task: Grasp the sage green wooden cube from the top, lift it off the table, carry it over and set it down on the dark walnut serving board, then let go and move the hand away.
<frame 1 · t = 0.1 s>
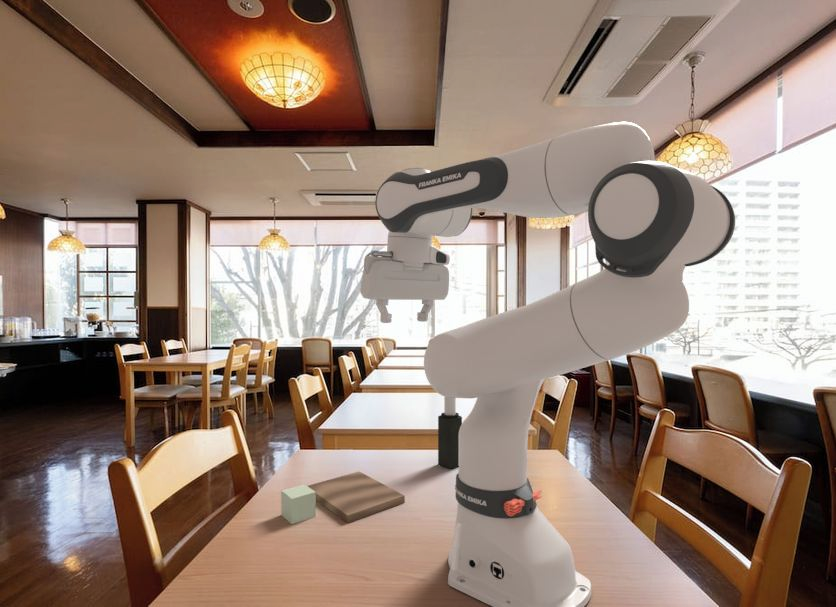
hand: (404, 321, 92), 39 cm above the table, tool pointing down, fingers open, 8 cm apart
serving board: (354, 497, 99), on the table
cube: (298, 516, 91), on the table
black and grey rod: (450, 465, 119), on the table
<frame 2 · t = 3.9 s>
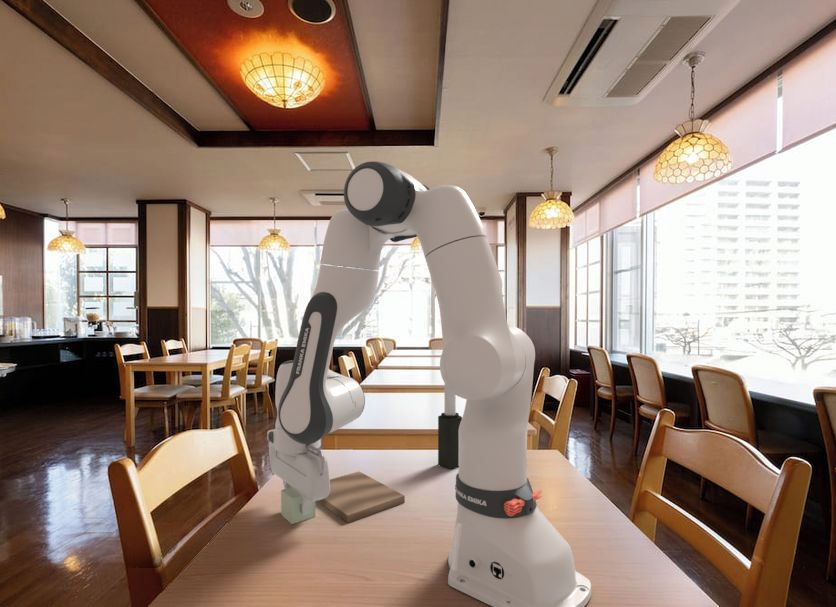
hand: (298, 507, 91), 2 cm above the table, tool pointing down, fingers closed on cube, 5 cm apart
cube: (298, 515, 91), on the table, touching gripper
everything else where it was.
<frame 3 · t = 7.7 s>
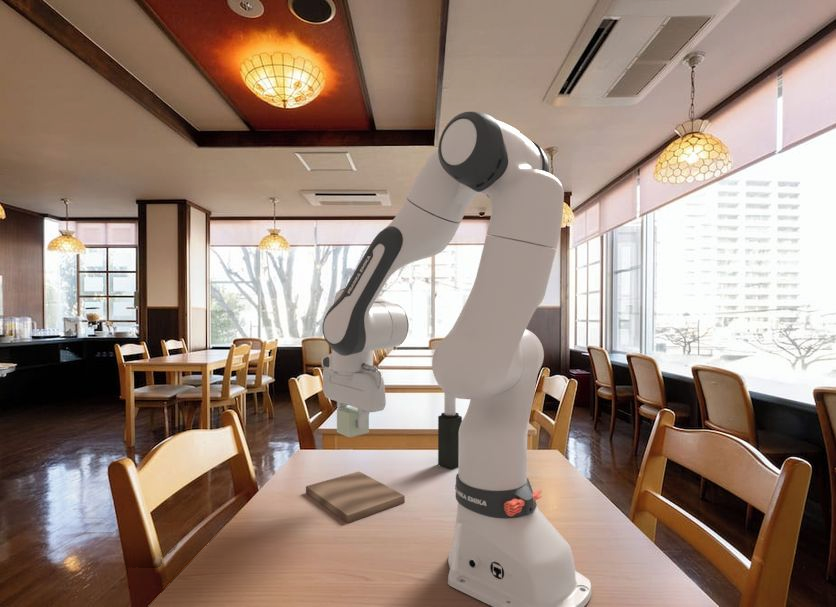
hand: (352, 425, 99), 16 cm above the table, tool pointing down, fingers closed on cube, 5 cm apart
cube: (352, 432, 99), point 14 cm above the table, touching gripper
everything else where it was.
when the fingers open (5 cm above the table, at t = 11.1 s): cube drops 1 cm, resting on serving board.
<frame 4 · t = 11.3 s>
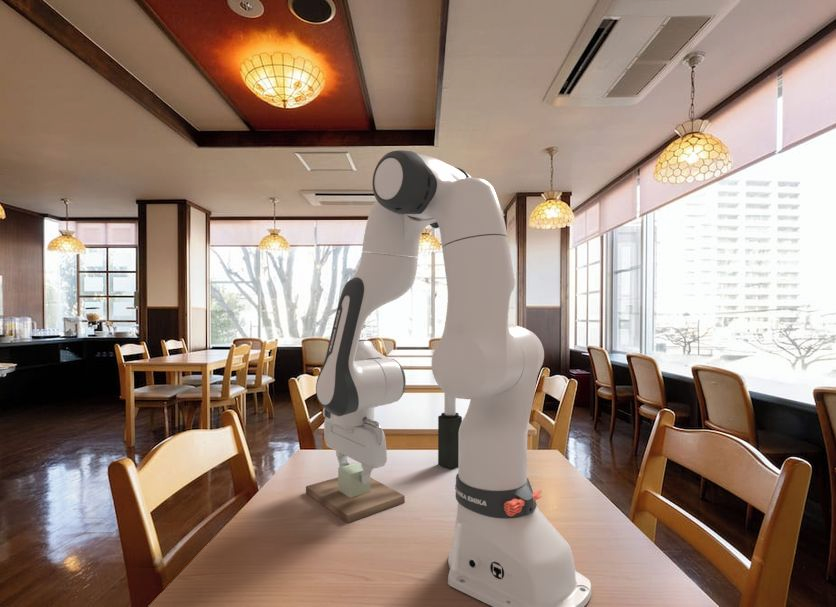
hand: (354, 476, 99), 5 cm above the table, tool pointing down, fingers open, 7 cm apart
cube: (354, 490, 99), point 1 cm above the table, touching serving board
everything else where it was.
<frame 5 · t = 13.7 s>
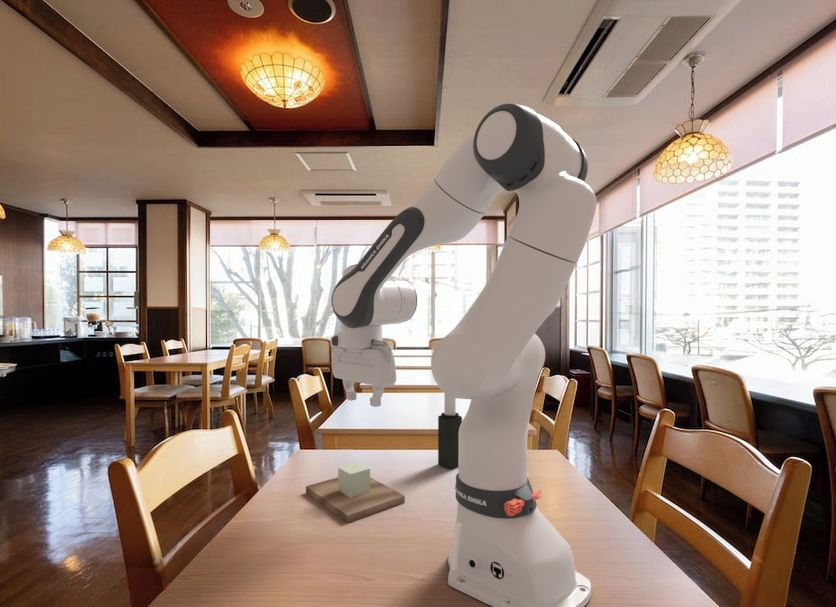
hand: (363, 402, 99), 21 cm above the table, tool pointing down, fingers open, 8 cm apart
nothing on the table moved.
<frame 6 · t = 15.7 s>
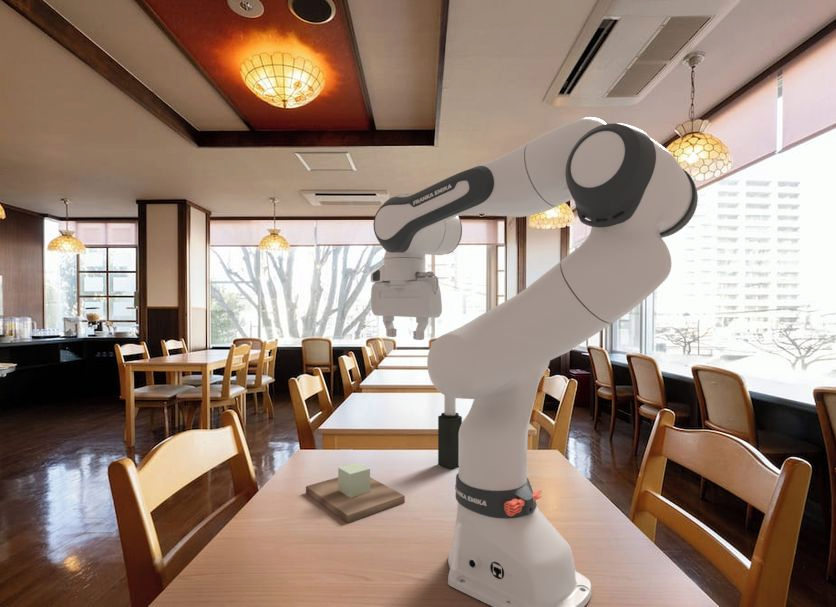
hand: (404, 338, 97), 35 cm above the table, tool pointing down, fingers open, 8 cm apart
nothing on the table moved.
at the end: cube inside the target area on the serving board (0.1 cm from its centre), point 1.5 cm above the serving board's base; cube tilted 0°; the gripper is holding nothing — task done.
